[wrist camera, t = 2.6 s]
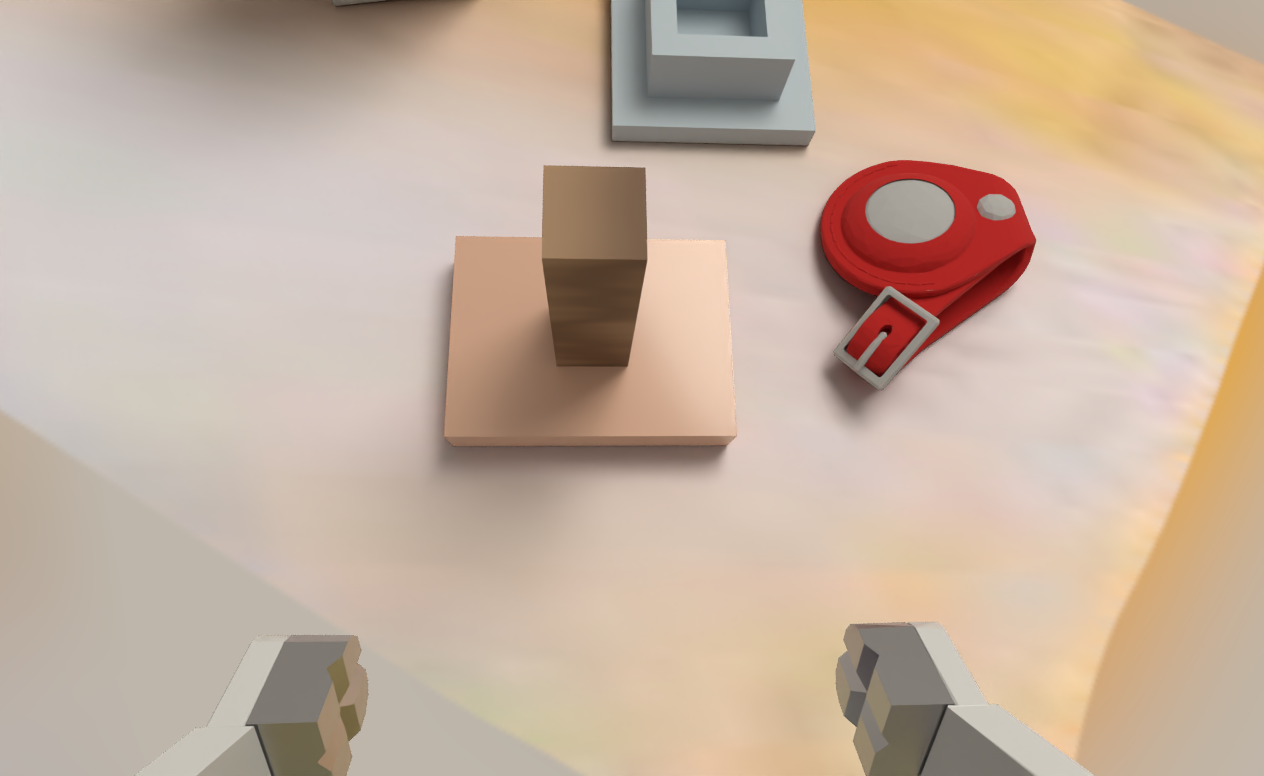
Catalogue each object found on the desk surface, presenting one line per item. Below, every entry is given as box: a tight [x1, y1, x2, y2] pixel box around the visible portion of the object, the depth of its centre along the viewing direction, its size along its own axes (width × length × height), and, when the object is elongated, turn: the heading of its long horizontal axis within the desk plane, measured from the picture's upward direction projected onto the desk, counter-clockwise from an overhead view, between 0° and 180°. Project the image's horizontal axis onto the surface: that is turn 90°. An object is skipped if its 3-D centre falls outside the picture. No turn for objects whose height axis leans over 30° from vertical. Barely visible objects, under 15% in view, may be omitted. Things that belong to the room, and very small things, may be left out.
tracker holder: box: [821, 160, 1036, 390], centre depth 32 cm, size 12×4×10 cm
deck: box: [444, 236, 737, 446], centre depth 31 cm, size 12×9×2 cm
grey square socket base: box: [611, 0, 816, 146], centre depth 34 cm, size 10×10×4 cm
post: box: [542, 166, 648, 367], centre depth 25 cm, size 3×3×10 cm
